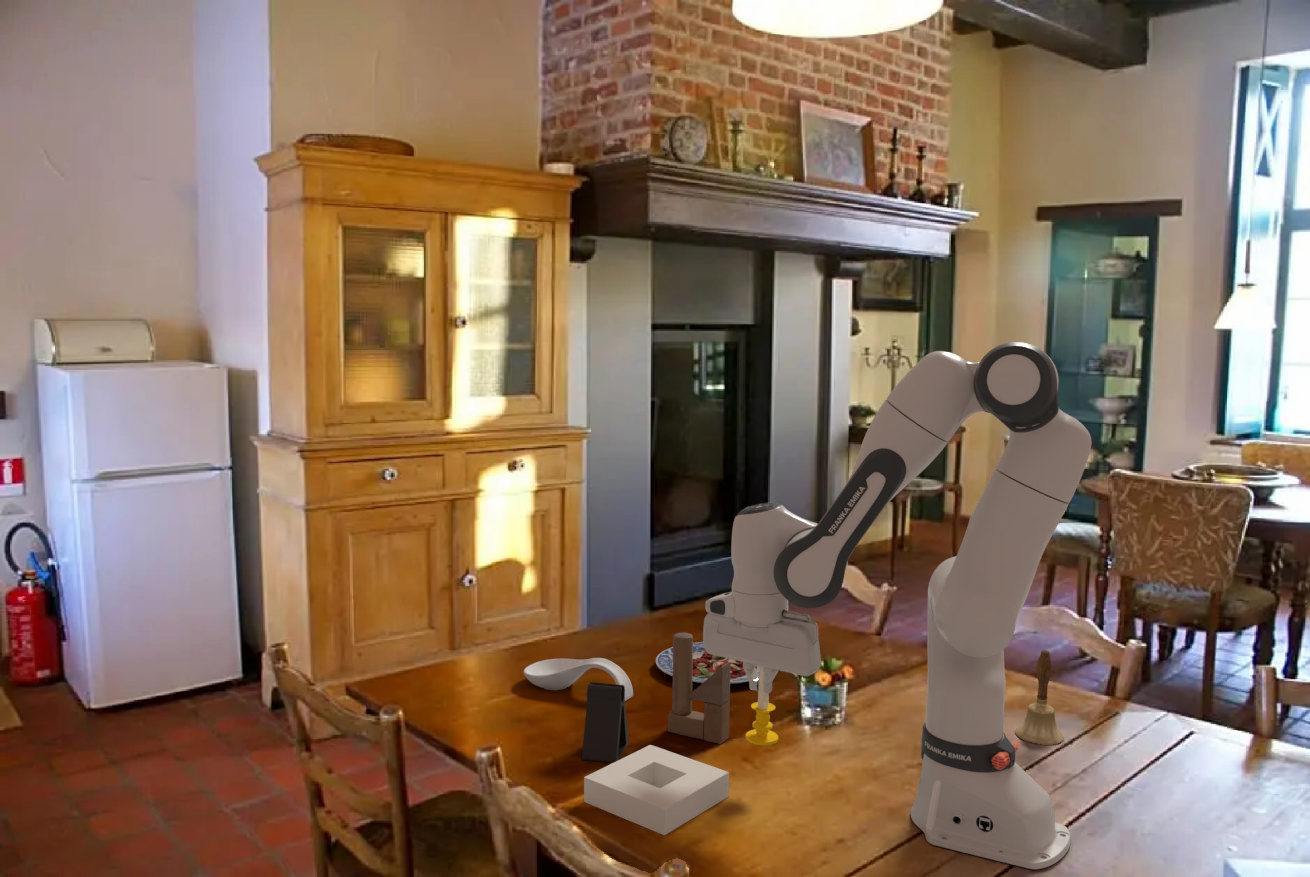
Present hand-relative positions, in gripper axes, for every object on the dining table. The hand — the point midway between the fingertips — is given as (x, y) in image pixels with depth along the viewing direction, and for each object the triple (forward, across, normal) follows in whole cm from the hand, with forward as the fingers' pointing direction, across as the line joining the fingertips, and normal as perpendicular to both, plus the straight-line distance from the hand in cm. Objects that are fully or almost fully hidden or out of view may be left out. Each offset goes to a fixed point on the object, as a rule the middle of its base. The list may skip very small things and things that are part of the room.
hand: (760, 690), depth 164 cm
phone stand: (+15, +28, +6) cm, 32 cm away
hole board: (+15, +10, +14) cm, 23 cm away
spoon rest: (+15, +52, -12) cm, 56 cm away
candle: (+8, 0, 0) cm, 8 cm away
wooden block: (+16, +20, -10) cm, 27 cm away
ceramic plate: (+16, +38, -40) cm, 57 cm away
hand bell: (+18, -27, -50) cm, 59 cm away
